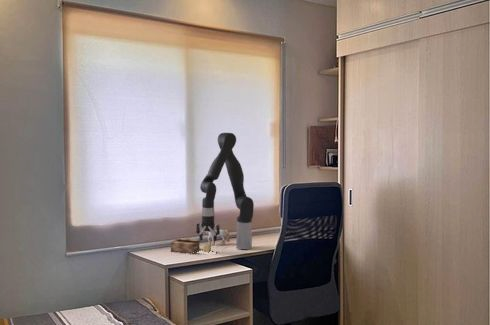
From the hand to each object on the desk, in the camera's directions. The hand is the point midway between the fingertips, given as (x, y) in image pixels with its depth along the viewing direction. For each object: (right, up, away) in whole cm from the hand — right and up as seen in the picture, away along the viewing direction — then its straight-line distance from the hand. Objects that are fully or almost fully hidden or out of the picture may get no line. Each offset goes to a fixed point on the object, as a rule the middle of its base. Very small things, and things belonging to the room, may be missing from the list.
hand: (208, 240), depth 302 cm
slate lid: (-1, -8, +1) cm, 8 cm away
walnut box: (-14, -7, +4) cm, 16 cm away
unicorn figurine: (+4, -6, +18) cm, 20 cm away
